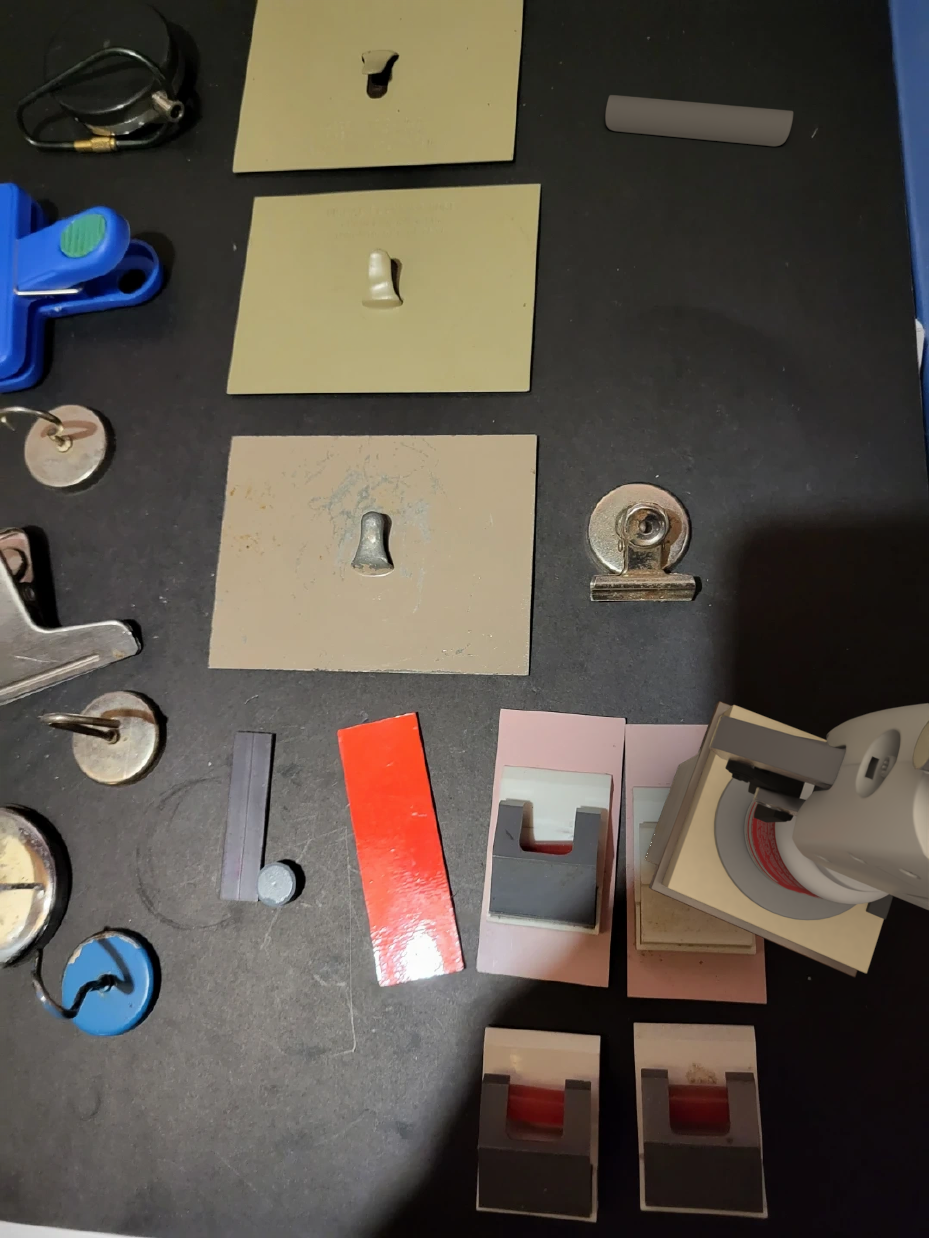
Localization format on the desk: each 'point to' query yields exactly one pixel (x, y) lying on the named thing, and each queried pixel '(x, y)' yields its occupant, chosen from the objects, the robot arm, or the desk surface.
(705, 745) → the stand
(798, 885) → the pill bottle
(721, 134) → the gray half cylinder
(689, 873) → the scale
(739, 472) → the desk surface
